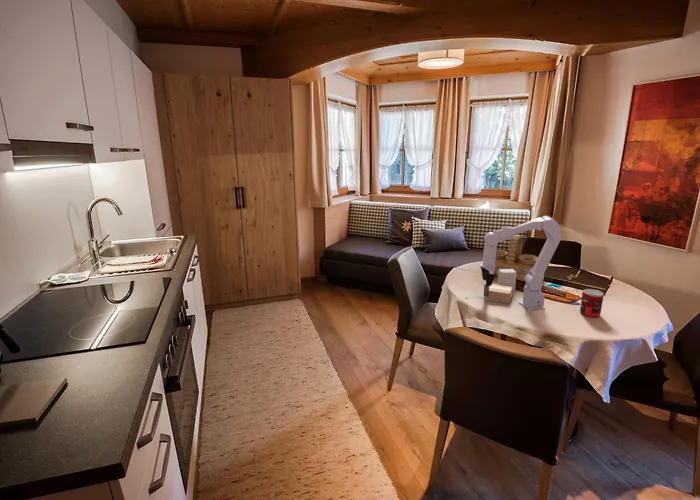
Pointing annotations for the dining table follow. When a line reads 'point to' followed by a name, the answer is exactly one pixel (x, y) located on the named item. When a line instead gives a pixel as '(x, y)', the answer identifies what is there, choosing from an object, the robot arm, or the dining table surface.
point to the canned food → (591, 303)
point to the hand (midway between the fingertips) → (486, 282)
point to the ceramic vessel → (515, 259)
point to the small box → (507, 278)
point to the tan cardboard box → (495, 295)
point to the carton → (501, 289)
